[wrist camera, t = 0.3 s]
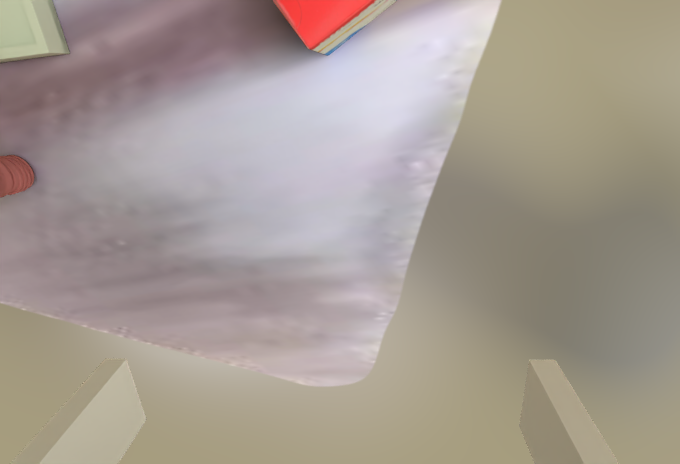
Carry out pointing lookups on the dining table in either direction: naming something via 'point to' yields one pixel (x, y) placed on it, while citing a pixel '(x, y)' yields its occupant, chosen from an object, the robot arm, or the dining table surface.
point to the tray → (30, 30)
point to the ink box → (329, 20)
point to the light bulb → (14, 175)
